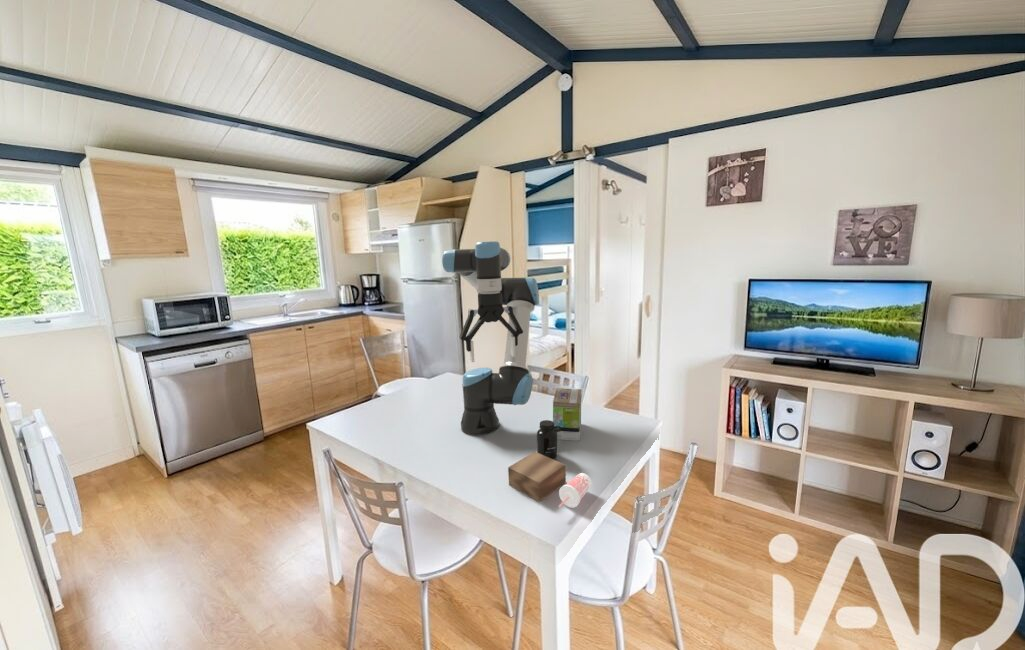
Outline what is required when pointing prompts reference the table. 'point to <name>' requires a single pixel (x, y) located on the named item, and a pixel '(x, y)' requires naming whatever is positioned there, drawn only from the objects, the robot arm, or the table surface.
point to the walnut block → (537, 475)
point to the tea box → (567, 413)
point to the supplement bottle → (547, 439)
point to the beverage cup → (574, 490)
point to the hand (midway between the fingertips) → (493, 358)
